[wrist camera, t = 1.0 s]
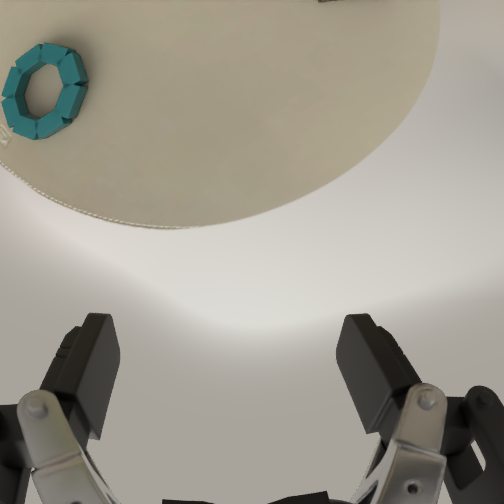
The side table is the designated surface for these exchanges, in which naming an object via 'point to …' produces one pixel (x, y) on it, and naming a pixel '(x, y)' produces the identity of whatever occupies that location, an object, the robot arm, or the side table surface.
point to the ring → (67, 101)
